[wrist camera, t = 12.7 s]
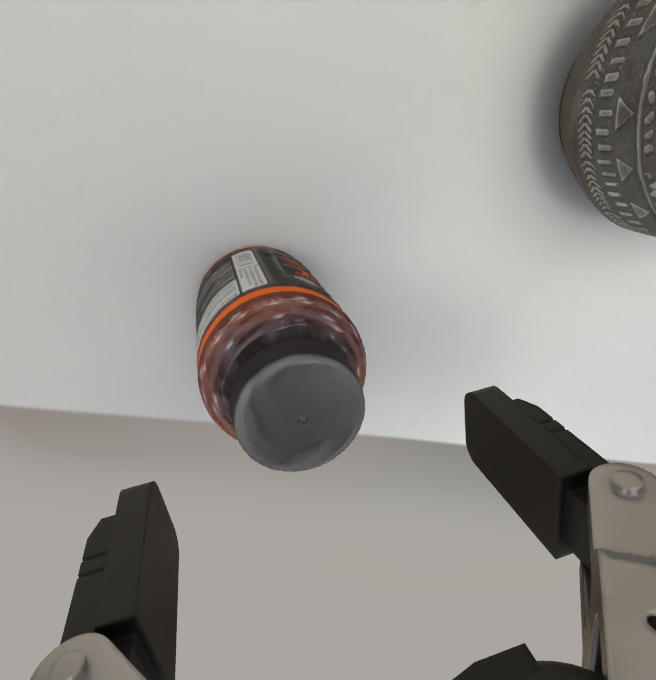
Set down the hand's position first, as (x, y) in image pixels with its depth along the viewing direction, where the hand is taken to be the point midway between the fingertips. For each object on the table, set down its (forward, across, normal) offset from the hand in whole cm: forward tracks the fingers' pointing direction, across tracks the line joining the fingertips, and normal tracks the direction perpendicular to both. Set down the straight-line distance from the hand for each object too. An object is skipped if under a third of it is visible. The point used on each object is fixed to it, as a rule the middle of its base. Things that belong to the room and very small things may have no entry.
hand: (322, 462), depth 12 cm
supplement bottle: (+14, 0, 0) cm, 14 cm away
